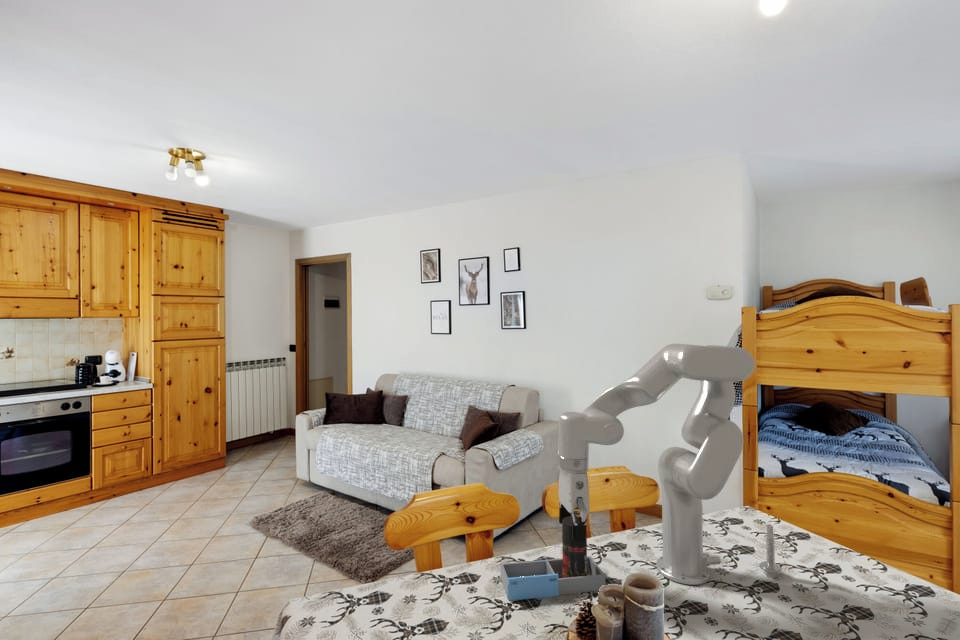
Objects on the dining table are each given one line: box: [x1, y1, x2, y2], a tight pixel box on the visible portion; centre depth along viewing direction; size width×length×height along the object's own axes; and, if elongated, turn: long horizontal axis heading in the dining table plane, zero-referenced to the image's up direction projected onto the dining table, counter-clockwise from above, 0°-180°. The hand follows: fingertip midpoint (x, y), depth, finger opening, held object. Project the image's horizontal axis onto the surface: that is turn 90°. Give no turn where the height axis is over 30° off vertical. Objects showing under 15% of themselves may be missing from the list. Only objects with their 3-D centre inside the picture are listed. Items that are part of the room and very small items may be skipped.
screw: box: [758, 523, 783, 579], centre depth 114 cm, size 13×5×5 cm
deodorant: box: [561, 516, 588, 578], centre depth 112 cm, size 6×6×15 cm
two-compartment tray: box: [499, 555, 606, 602], centre depth 111 cm, size 24×10×5 cm, turn 98°
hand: (571, 531), depth 112 cm, fingers open, 9 cm apart
